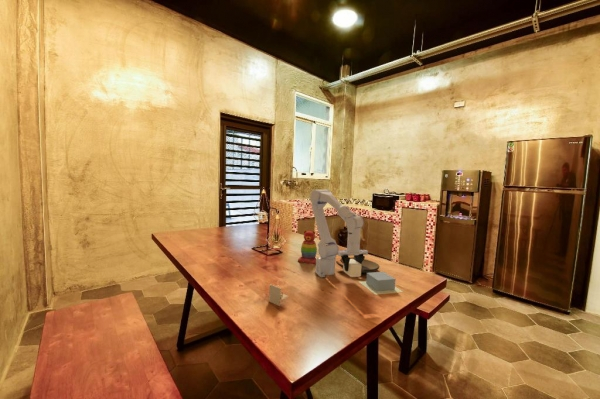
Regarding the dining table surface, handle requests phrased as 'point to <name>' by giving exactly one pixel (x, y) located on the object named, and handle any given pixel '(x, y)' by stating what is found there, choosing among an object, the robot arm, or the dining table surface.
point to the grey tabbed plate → (276, 295)
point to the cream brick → (353, 268)
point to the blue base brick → (380, 281)
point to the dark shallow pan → (364, 265)
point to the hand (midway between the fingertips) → (351, 270)
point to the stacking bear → (308, 248)
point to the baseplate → (380, 291)
